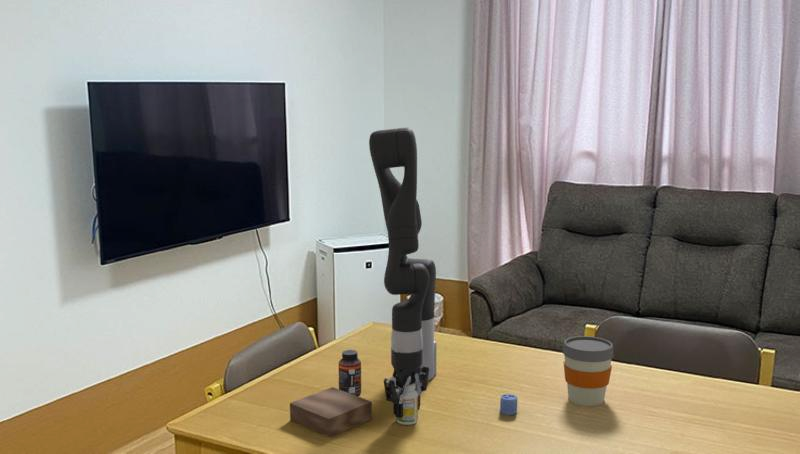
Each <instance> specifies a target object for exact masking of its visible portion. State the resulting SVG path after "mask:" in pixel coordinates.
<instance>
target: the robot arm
mask: <svg viewBox="0 0 800 454" xmlns="http://www.w3.org/2000/svg"><path fill="white" fill-rule="evenodd" d="M368 146H369V153H370V158H371V161H372V162H371V163H372V166H373V170H374V172H375V176H376V180H377V184H378V187H379V192H380V198H381V204H382V211H383V216H384V217H383V218H384V222H385V226H386V231H387V239H388V255H387V262H386V267H385V272H384V275H383V278H384V279H383V284H384V288H385V290H386V291H387V292H388V294H390V295H392V296H397V295H410V296H409V297H408V299H405V300H403V301H401V302H397V303H396V304H394V305H392V308H391V334H390V335H391V336H390V364H391V366H392V368H393V372H392V376H391V377H390V378H384V379H383V387H384V392H385V393H384V394H385V398H386V401H387V402H389V403H390V402H391V403H392V404H393V406H392V407H393V409H392V410H393V416H394V417H395V418H396V417H398V418H402V417H403V403H402V401H403V398H404V395H405V394H406V393H407V389H408V385H410V384H413V383H415V387H416V388H415V390H416V391H417V393H418V411H419V410H420V407H421V396H422V393H423V392H426V391H427V388H428V381H430V380H432V379H434V377H435V376H436V375H437V342H436V340H435V305H436V304H435V303H436V300H435V298H436V282H437V278H436V277H437V268H436V267H437V266H436V264H435V262H434V260H432V259H428V258H427V259H426V258H410V257H408V256H407V255H410V254H414V253H416V252H418V250H419V245H420V244H419V234H420V231H421V228H422V227H423V226H422V225H423V224H422V215H421V209H420V204H419V201H418V199H417V195H418V194H417V193H418V192H417V191H418V189H417V188H418V147H417V146H418V145H417V140H416V136H415V133H414V131H413V130H412V128H411V127H399V128H388V129H380V130H376V131H373V132H371V133H370V135H369V140H368ZM392 168H394V169H395V168H403V169H404V170H403V172H404V173H403V179H402V183H401V182H400V180H398V179H397V178H396V176H394V173H393V171H392V170H391V169H392ZM399 387H400V388H403V389H402V390H400V389H399ZM398 393H399V398H397V395H398Z"/></svg>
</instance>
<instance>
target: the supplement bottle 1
mask: <svg viewBox="0 0 800 454" xmlns="http://www.w3.org/2000/svg"><path fill="white" fill-rule="evenodd" d="M358 356H359V354H358V351H357V350H355V349H346V350H343V351H342V352H341V357H342V358H341V359H339V361H338V389H339V390H342V391H345V392H347V393H350V394H353V395H355V396H356V395H357V396H359V395H360V394H362V360H361V359H359V357H358Z"/></svg>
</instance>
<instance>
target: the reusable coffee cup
mask: <svg viewBox="0 0 800 454" xmlns="http://www.w3.org/2000/svg"><path fill="white" fill-rule="evenodd" d="M562 354H563V356H564V361H563V370H564V371H563V372H564V380H565V382H566V387H567V397H568V400H569V401H570V402H571V403H573V404H575V405H579V406H583V407H584V406H585V407H596V406H599V405H602V404H604V402H605V397H606V392H607V387H608V385H609V383H610V379H611V375H612V374H611V372H612V369H613V366H612V359H613V358H614V345H613V343H612V342H611V341H610V340H607V339H604V338H602V337H597V336H590V335H589V336H587V335H586V336H583V335H581V336H579V335H578V336H573V337H569V338H566V339H565V340H564V342H563V349H562Z"/></svg>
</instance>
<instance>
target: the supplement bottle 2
mask: <svg viewBox="0 0 800 454" xmlns="http://www.w3.org/2000/svg"><path fill="white" fill-rule="evenodd" d="M415 388H416V387H415V383H413V384H410V385H408V389H407V393H406V394H405V395H404V398H403V401H402V403H403V417H402V418H398V417H395V418H396V419H395V421H396V422H397V423H398V424H400V425H404V426H408V425H410V426H411V425H414V424H416V423H417V422H418V420H419V410H418V393H417V391H416V390H415ZM398 389H400V390H402V389H403V388H400V387H398ZM397 398H399V393H398V395H397Z"/></svg>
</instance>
